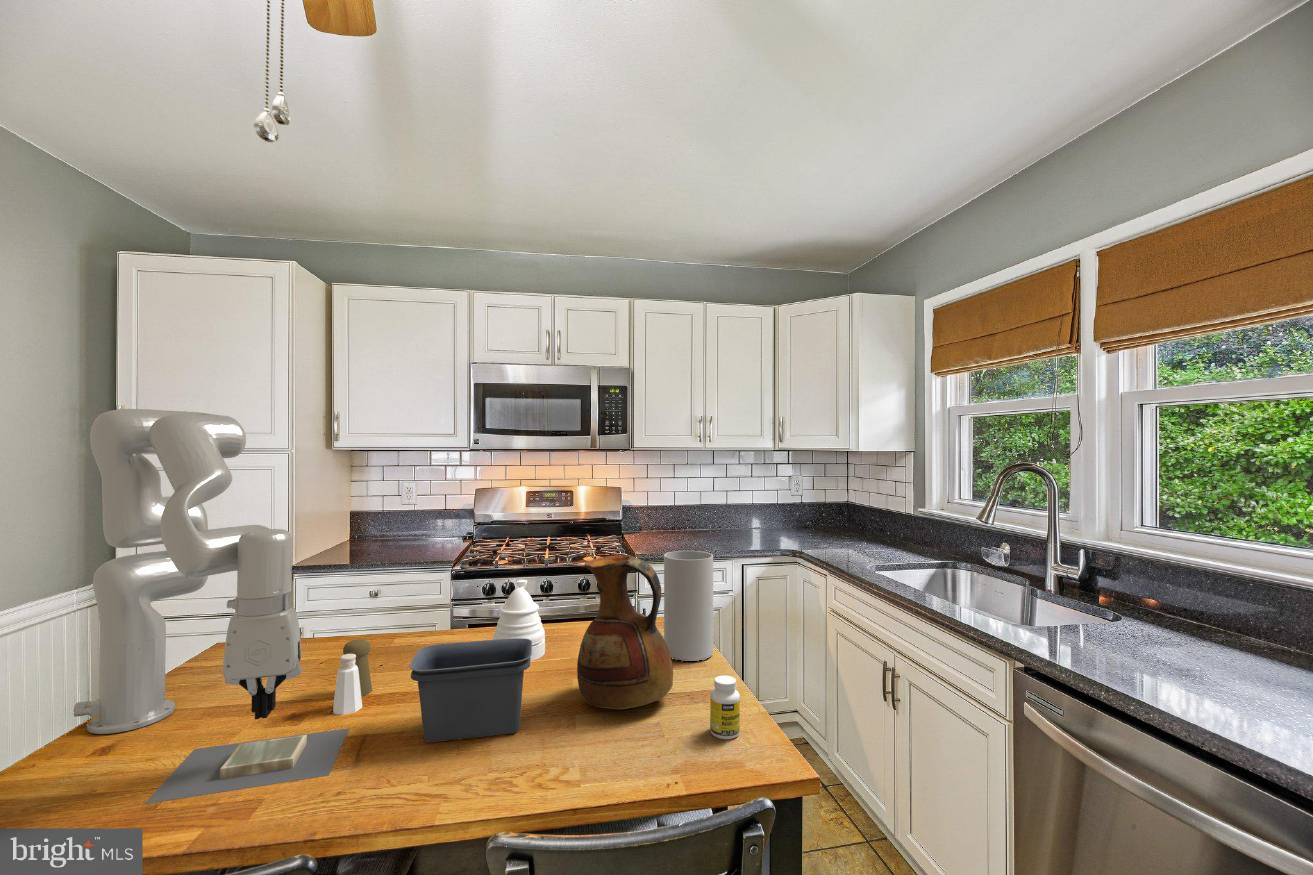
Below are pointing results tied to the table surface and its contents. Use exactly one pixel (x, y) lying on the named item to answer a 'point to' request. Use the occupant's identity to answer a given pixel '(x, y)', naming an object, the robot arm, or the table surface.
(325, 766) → the rubber mat
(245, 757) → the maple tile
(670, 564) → the cylinder vase
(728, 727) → the supplement bottle
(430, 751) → the table surface
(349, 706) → the salt shaker
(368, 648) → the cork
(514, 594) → the honey pot
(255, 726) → the table surface
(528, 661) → the storage bin
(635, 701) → the ceramic pitcher
